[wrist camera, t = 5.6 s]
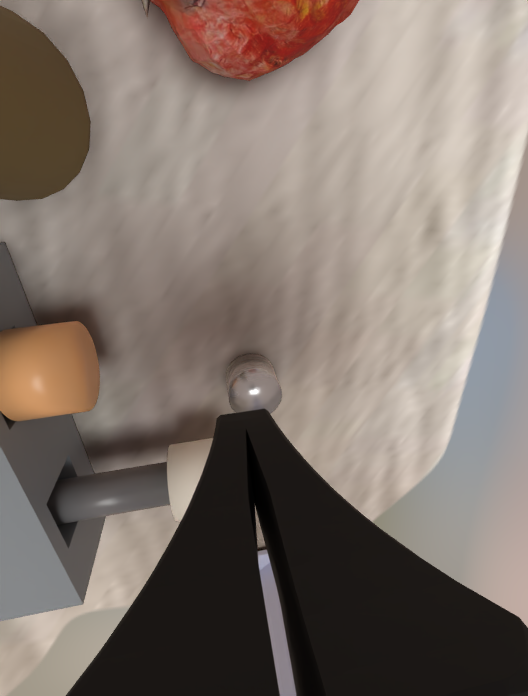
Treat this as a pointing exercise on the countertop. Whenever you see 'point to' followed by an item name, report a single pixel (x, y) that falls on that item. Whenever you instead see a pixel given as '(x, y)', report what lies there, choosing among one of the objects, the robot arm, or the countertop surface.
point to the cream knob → (133, 487)
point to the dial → (252, 384)
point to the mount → (38, 495)
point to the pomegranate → (250, 31)
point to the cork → (38, 114)
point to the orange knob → (47, 371)
